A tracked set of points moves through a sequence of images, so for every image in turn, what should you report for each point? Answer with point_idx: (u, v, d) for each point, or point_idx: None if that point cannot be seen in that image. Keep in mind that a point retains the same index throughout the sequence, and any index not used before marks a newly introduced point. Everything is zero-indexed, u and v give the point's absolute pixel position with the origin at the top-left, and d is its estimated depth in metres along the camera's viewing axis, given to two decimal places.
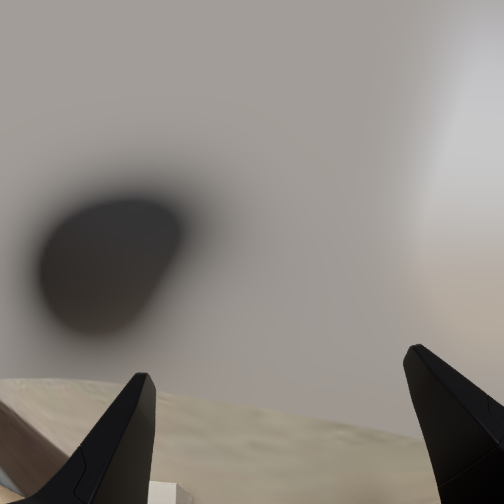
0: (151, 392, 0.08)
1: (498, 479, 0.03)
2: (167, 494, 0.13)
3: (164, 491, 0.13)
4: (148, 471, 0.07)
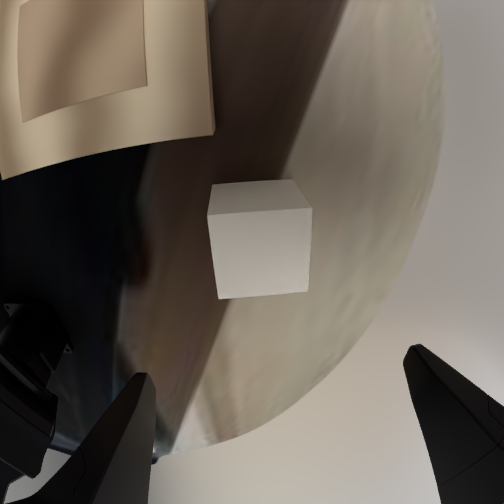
0: (151, 392, 0.08)
1: (498, 479, 0.03)
2: (292, 284, 0.16)
3: (296, 281, 0.16)
4: (148, 471, 0.07)
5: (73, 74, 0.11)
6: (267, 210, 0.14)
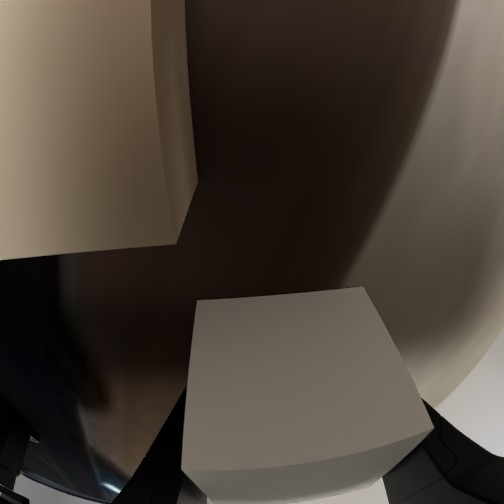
0: None
1: None
2: (347, 490, 0.07)
3: (355, 487, 0.06)
4: None
5: None
6: (337, 455, 0.04)
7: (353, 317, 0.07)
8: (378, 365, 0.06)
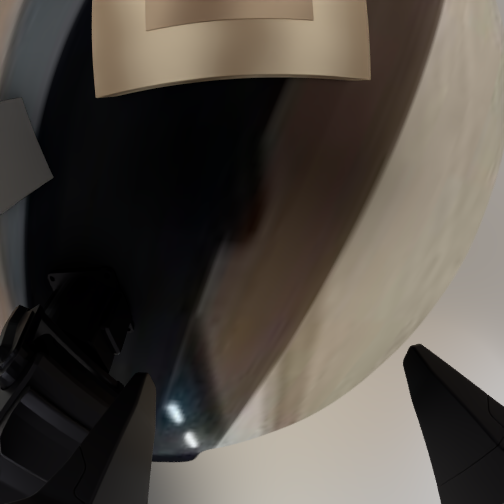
0: (151, 392, 0.08)
1: (498, 479, 0.03)
2: None
3: None
4: (148, 471, 0.07)
5: None
6: None
7: None
8: None
